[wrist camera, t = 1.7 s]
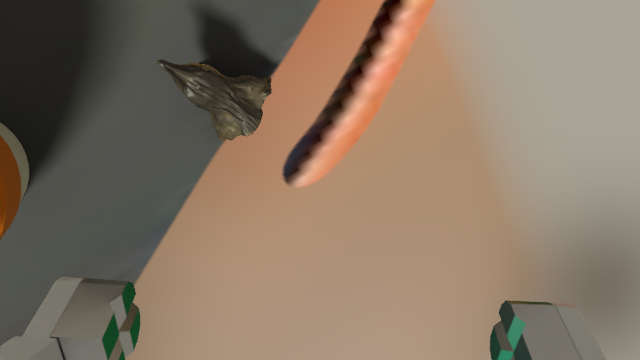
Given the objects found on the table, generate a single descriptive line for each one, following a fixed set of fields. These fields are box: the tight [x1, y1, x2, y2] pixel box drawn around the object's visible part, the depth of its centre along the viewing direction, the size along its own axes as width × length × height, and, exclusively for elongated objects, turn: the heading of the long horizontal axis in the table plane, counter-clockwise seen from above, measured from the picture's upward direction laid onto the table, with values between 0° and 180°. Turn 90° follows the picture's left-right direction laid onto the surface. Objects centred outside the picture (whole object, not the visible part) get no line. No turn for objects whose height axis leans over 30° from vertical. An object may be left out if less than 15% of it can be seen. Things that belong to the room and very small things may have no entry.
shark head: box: [158, 60, 271, 140], centre depth 39 cm, size 8×6×7 cm
